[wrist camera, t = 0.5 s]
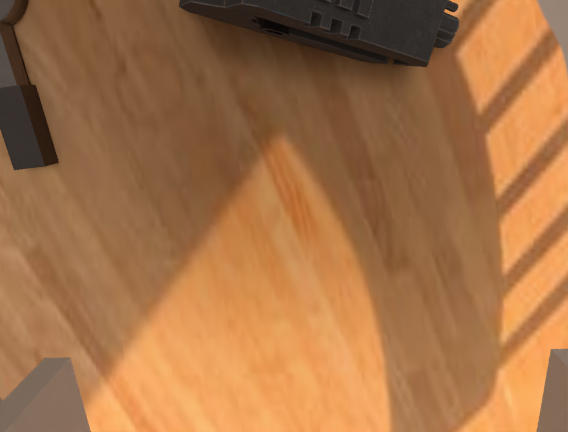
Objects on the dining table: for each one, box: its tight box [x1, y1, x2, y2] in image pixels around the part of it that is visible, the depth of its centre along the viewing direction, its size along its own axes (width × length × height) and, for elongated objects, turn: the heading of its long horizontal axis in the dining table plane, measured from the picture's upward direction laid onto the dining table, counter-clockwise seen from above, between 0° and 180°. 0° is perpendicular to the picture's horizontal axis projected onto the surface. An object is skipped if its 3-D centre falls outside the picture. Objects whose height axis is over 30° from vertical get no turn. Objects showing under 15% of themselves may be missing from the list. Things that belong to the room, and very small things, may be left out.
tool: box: [179, 0, 459, 67], centre depth 28 cm, size 6×19×15 cm, turn 78°
